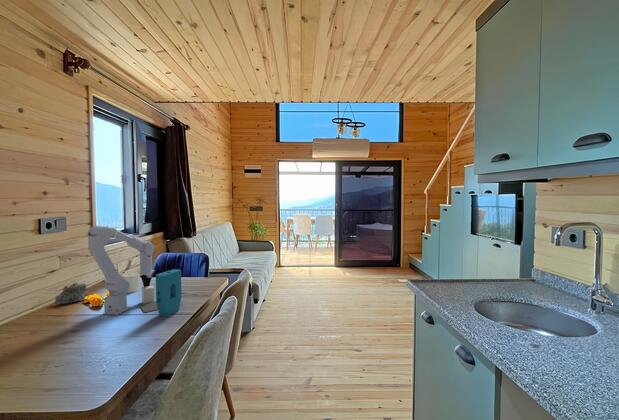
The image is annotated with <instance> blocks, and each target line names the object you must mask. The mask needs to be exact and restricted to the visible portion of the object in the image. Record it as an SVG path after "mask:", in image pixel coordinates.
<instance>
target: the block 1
mask: <svg viewBox="0 0 619 420" xmlns="http://www.w3.org/2000/svg"><path fill="white" fill-rule="evenodd" d="M153 301H155V287H154V286H153V285H150V286H146V287H144V286H143V287H141V302H142V304H143V303H148V302H153Z"/></svg>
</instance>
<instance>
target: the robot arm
mask: <svg viewBox="0 0 619 420" xmlns="http://www.w3.org/2000/svg"><path fill="white" fill-rule="evenodd" d="M86 236H87V238H88V239H87V241H88V244H87V246H88V251H89V252H90V254H91V256H92V258H93V259H94V261H95V262H96V263H97V265H98V267H99V269H100V271H101V272H102V274H103V276H104V277H105V279H104V283H105V289H106V290H107V291H108V297H106V298H105V299H104V302H103V304H104V308H103V309H104V312H103V313H102V315H112V316H113V315H114V316H117V315H118V316H119V315H120V314H122V313H124V312H126V311H128V310H129V309H131V308H132V307H131V306H128V300H127V299H128V298H127V297H128V295H127V291H128V289H129V287H130V284H129V282H128V281H126V280H125V277H124V276H122V275H121V274H120V273H119V272H118V269H116V267H115V265H114V263H113V261H112V260H111V258H110V256H109V255H108V252H107V250H106V249H105V246H106V245H107V244H108V243H109V242H110V240H111V239H117V240H120V241H123V242H125V243H126V245H127V246H128V247H130V248H133V249H135V250H137V251H138V252H139V274H140V276H139V278H141V281H142V285H143V287H146V286H151V285H150V284H151V281H152V279H153V276H154V275H153V273H155V270H154V269H153V253H154V249H155V246H154V244H153V243H152V242H151V241H146V239H143V238H141V237H139V235H131V236H130V235H128V234H126V233H124V232H122V231H120V230H119V229H116V228H115V227H111V226H104V225H103V226H102V225H101V226H99V225H93V226H91V227H90V228H89V230H88V232H86Z"/></svg>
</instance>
